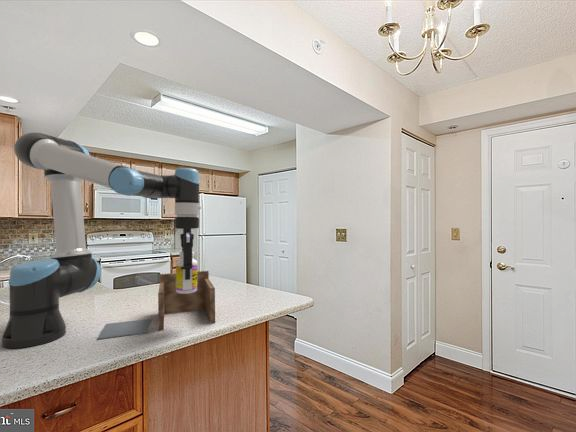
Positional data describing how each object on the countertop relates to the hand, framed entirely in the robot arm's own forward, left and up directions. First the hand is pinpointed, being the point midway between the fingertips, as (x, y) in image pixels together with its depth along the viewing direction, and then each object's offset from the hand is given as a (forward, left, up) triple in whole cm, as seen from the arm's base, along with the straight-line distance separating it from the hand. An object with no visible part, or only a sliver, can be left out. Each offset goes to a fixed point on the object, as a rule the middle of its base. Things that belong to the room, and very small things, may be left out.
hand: (186, 286), depth 100 cm
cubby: (0, +13, -14) cm, 19 cm away
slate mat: (-19, +9, -14) cm, 25 cm away
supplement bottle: (0, 0, -2) cm, 2 cm away
